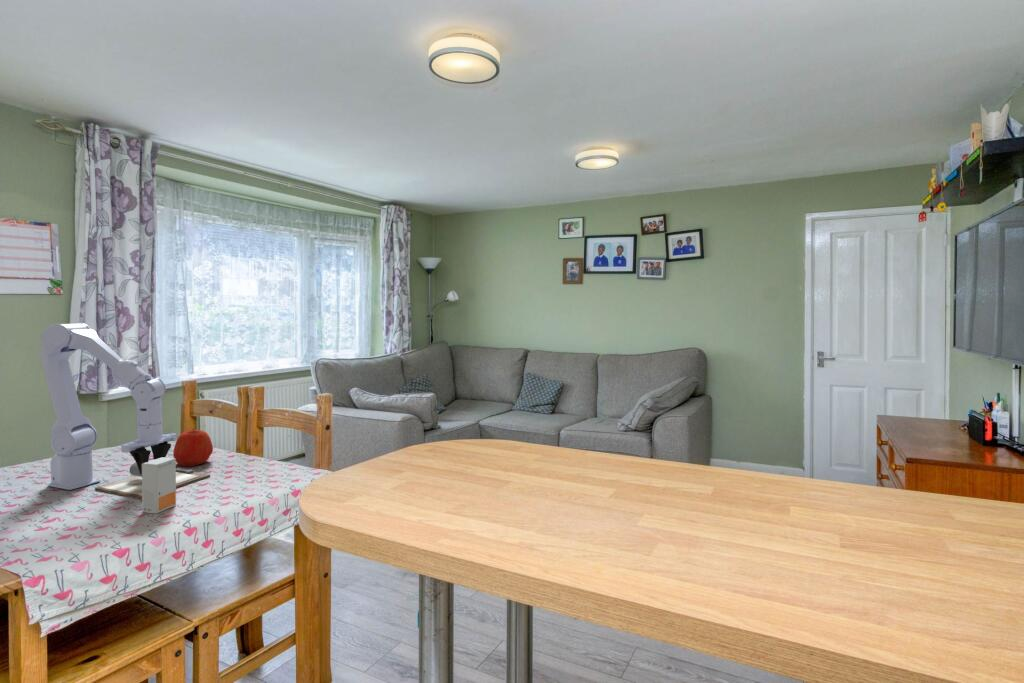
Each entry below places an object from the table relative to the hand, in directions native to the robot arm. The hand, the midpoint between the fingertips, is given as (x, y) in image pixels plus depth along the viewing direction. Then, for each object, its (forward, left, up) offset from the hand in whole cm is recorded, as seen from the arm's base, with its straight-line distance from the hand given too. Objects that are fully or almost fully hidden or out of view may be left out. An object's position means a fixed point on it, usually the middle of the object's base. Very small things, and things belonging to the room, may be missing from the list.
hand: (151, 472), depth 151 cm
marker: (0, +1, -2) cm, 2 cm away
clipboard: (0, +1, -3) cm, 4 cm away
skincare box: (+19, -12, -4) cm, 23 cm away
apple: (-7, +19, -4) cm, 21 cm away
